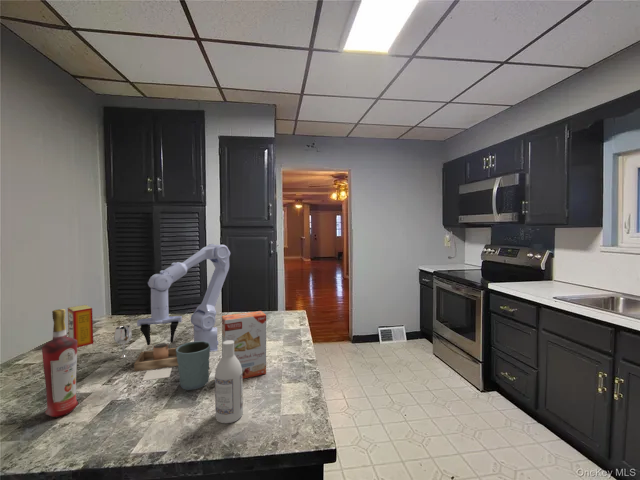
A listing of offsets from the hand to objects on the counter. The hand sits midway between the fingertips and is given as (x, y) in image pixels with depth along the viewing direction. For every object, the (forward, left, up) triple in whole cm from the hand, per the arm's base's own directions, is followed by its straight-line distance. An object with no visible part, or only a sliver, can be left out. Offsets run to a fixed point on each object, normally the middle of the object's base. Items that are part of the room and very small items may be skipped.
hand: (160, 343), depth 113 cm
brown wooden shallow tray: (0, 0, -8) cm, 8 cm away
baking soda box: (+36, -34, -8) cm, 50 cm away
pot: (0, 0, -7) cm, 7 cm away
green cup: (-13, +20, -8) cm, 25 cm away
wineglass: (+14, -10, -8) cm, 19 cm away
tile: (-1, +10, -8) cm, 13 cm away
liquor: (+20, +25, -8) cm, 33 cm away
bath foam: (-23, +42, -8) cm, 48 cm away
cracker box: (-29, +20, -8) cm, 36 cm away
